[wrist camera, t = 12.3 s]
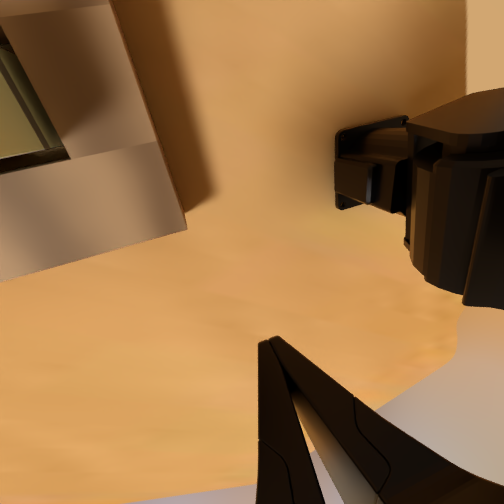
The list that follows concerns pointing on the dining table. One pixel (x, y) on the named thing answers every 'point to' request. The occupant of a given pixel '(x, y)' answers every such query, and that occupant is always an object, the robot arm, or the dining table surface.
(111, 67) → the board
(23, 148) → the peg
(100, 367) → the dining table surface
